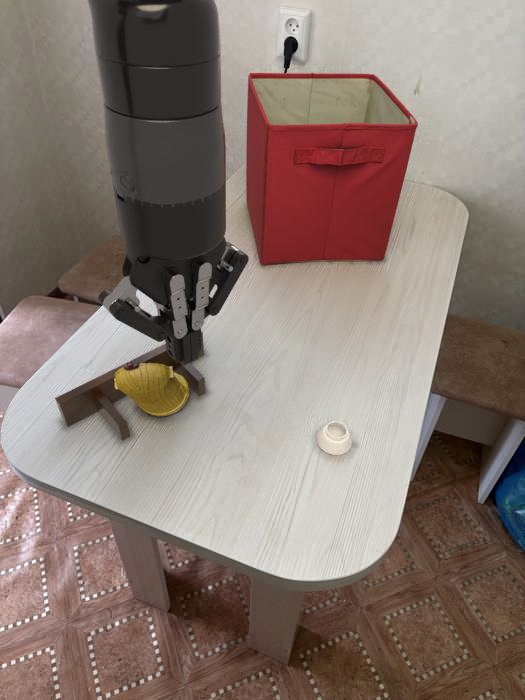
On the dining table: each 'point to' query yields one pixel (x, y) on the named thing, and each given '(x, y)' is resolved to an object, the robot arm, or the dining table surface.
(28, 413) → the dining table surface
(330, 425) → the white jar
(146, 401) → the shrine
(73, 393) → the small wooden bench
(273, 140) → the storage cube
